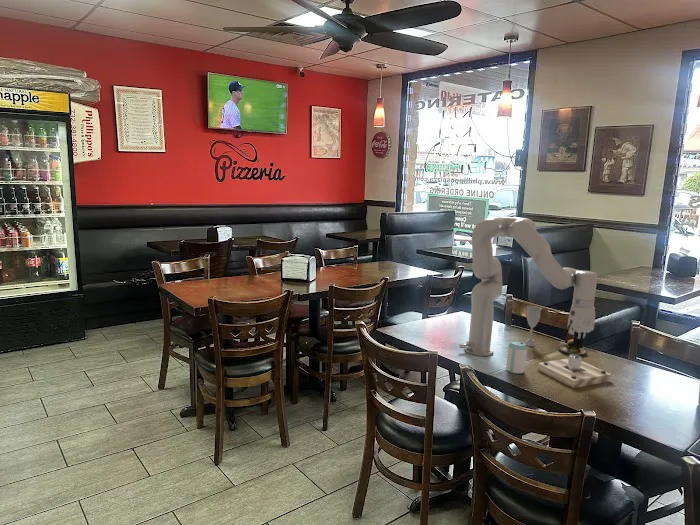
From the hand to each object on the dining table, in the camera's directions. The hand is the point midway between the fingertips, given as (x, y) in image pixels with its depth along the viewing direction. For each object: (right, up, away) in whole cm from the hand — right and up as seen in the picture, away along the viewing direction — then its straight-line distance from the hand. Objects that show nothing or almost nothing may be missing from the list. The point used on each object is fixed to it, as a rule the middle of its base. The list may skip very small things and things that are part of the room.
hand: (577, 347), depth 192 cm
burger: (+11, -8, +29) cm, 33 cm away
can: (-23, -11, +4) cm, 26 cm away
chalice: (-5, -5, +37) cm, 38 cm away
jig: (-1, -12, +2) cm, 12 cm away
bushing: (-1, -12, +2) cm, 12 cm away
